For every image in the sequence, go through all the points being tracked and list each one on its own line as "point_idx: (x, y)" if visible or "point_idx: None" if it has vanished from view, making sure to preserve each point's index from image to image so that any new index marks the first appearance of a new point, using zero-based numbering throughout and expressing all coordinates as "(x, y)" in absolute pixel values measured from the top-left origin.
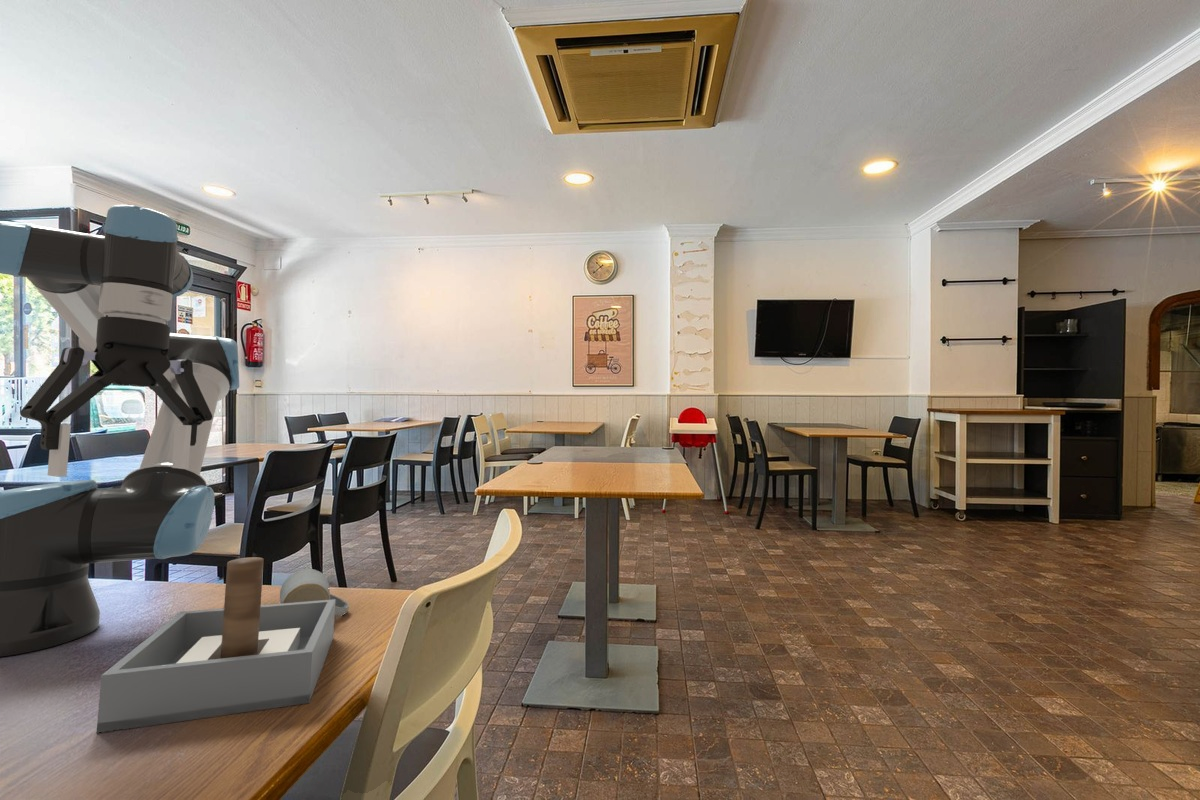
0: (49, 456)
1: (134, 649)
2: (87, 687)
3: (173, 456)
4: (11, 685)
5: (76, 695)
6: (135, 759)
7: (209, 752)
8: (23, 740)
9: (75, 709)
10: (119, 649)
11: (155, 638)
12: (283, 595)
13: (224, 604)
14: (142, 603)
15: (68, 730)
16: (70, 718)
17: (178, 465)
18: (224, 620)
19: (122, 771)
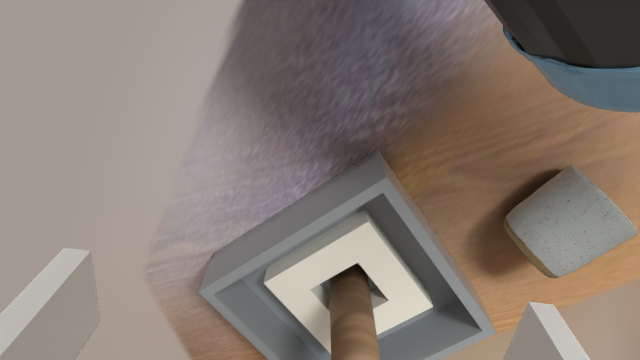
0: (7, 312)
1: (256, 257)
2: (268, 140)
3: (554, 351)
4: (232, 34)
5: (250, 151)
6: (205, 316)
7: (236, 354)
8: (177, 206)
9: (231, 186)
10: (369, 41)
11: (291, 246)
12: (531, 223)
13: (334, 334)
14: None
15: (205, 224)
16: (218, 202)
17: (517, 351)
18: (331, 322)
19: (192, 322)
